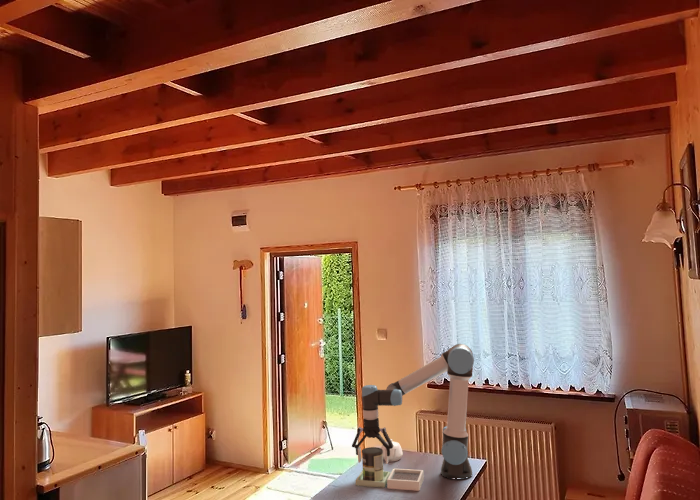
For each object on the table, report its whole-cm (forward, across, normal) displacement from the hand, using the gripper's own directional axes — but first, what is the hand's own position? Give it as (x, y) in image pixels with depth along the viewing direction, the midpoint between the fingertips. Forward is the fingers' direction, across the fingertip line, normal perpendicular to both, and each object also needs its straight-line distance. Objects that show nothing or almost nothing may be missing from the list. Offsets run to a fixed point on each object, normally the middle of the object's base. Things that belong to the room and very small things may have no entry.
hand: (373, 462), depth 256 cm
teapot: (+9, -2, -33) cm, 34 cm away
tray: (+9, 0, 0) cm, 9 cm away
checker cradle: (+9, -16, 0) cm, 18 cm away
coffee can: (+8, 0, 0) cm, 9 cm away
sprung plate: (+7, -16, 0) cm, 17 cm away
